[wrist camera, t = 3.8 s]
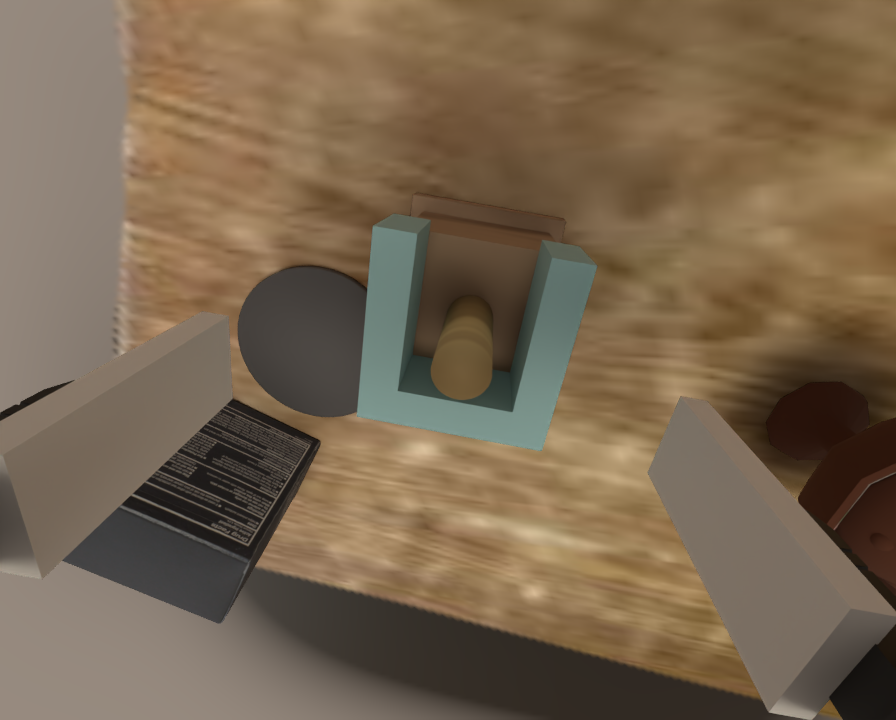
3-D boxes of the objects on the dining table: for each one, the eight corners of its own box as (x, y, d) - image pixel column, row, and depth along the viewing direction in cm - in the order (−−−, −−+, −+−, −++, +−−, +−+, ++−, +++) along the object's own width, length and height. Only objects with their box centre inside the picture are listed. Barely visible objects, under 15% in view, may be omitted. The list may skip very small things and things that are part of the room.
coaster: (239, 252, 27) (234, 254, 26) (405, 282, 26) (403, 285, 26) (245, 397, 31) (240, 401, 30) (388, 424, 31) (386, 429, 30)
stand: (416, 192, 24) (348, 225, 13) (563, 218, 24) (623, 274, 13) (399, 329, 28) (334, 450, 16) (528, 353, 28) (552, 491, 16)
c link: (394, 213, 18) (372, 225, 15) (579, 246, 18) (597, 265, 15) (377, 377, 21) (356, 416, 18) (534, 406, 21) (541, 451, 18)
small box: (161, 441, 33) (28, 555, 24) (181, 372, 31) (39, 469, 21) (294, 501, 34) (217, 633, 25) (324, 440, 32) (251, 561, 22)
